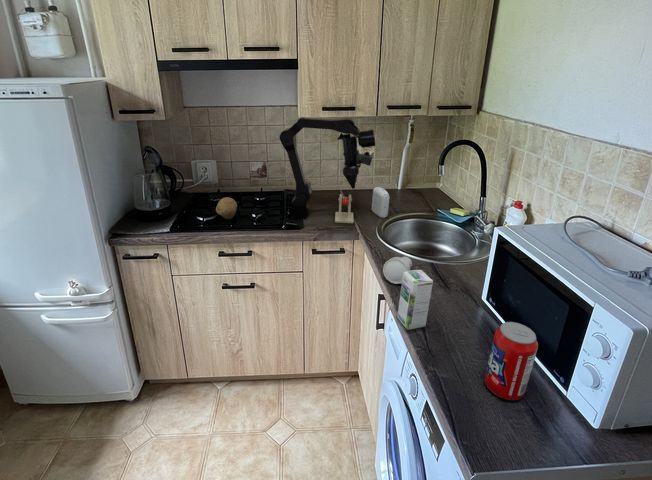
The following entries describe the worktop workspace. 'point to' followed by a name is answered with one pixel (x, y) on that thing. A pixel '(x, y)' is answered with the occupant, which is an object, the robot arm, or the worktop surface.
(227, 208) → the natural sponge
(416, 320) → the syrup box
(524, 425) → the worktop surface
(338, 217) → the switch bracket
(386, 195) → the photo printer
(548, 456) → the worktop surface
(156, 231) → the worktop surface
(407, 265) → the spotlight
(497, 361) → the soda can
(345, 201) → the switch lever
